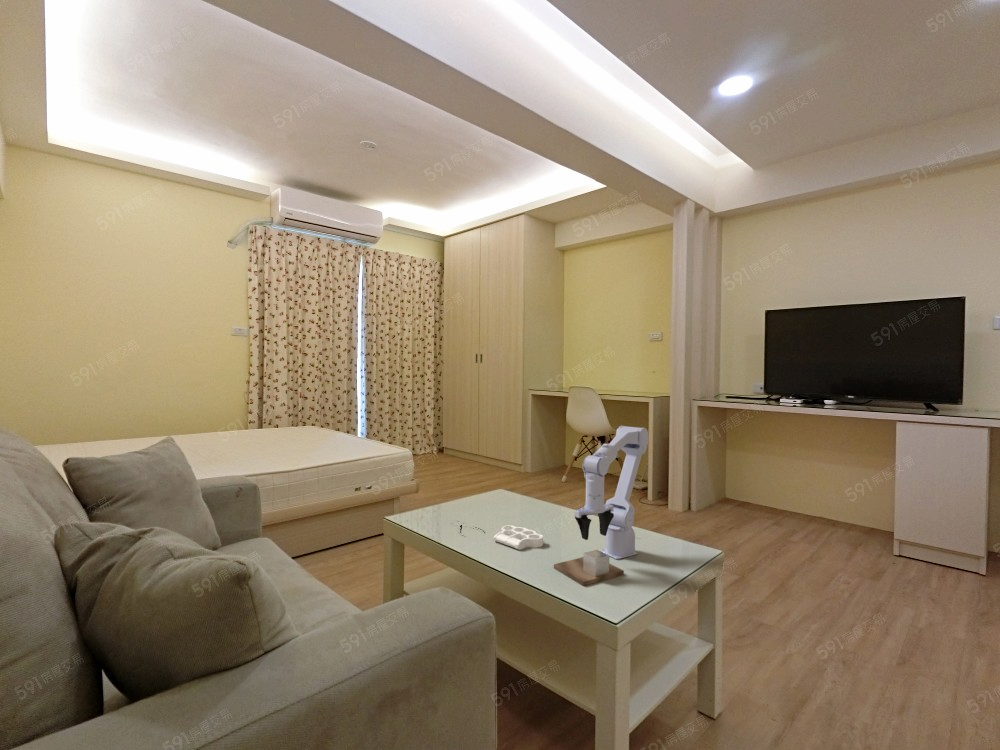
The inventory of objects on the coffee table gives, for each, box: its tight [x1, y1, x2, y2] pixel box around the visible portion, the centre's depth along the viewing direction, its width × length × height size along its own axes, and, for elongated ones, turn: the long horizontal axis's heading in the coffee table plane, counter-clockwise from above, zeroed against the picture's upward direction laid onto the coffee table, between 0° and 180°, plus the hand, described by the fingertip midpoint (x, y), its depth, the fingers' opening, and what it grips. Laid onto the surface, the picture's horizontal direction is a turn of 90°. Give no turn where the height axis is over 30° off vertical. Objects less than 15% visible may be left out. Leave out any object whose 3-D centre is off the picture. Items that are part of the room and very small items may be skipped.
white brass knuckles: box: [492, 524, 544, 551], centre depth 170 cm, size 3×18×15 cm
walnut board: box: [553, 556, 625, 587], centre depth 145 cm, size 16×14×5 cm
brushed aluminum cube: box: [583, 549, 610, 577], centre depth 142 cm, size 5×5×5 cm
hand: (594, 536), depth 149 cm, fingers open, 7 cm apart
